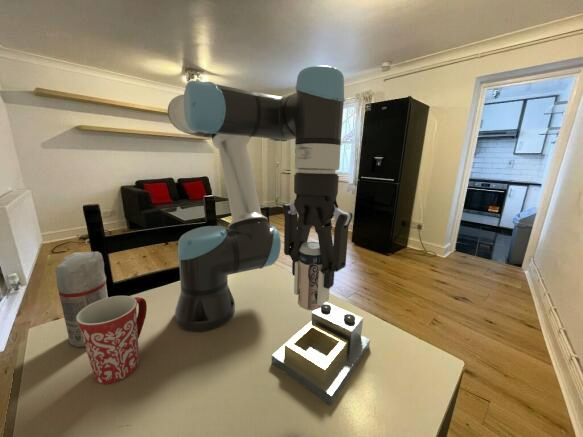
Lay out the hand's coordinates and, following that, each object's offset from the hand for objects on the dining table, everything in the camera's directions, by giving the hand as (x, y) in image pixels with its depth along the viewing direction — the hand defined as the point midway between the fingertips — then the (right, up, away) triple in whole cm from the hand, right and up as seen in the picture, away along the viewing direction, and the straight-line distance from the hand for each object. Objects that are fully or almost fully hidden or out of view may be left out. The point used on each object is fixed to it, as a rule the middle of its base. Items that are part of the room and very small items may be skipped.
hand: (311, 296), depth 46 cm
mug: (-38, -15, +4) cm, 41 cm away
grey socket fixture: (+3, -15, +7) cm, 17 cm away
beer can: (0, -2, 0) cm, 2 cm away
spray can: (-50, -13, +10) cm, 53 cm away
